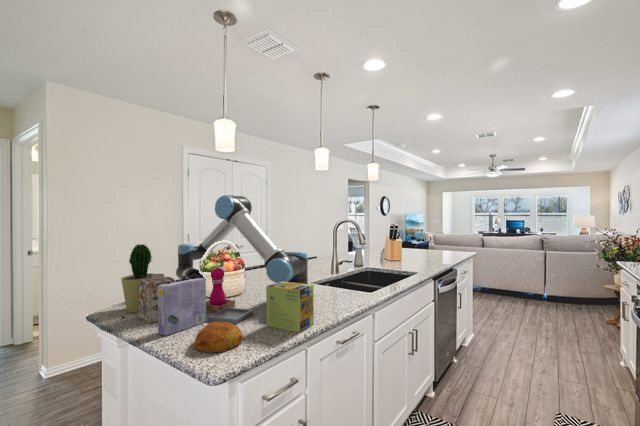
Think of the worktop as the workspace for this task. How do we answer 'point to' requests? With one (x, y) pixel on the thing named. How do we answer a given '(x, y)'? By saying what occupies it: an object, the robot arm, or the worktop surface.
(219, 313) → the tray
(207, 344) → the bread pastry
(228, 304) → the tray
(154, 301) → the decorative jar
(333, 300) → the worktop surface
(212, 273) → the pepper mill
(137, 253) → the potted cactus
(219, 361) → the worktop surface
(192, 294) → the cake pan box
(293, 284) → the protein box
